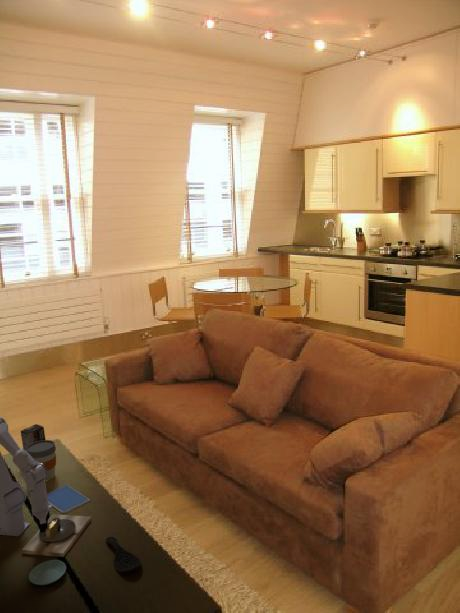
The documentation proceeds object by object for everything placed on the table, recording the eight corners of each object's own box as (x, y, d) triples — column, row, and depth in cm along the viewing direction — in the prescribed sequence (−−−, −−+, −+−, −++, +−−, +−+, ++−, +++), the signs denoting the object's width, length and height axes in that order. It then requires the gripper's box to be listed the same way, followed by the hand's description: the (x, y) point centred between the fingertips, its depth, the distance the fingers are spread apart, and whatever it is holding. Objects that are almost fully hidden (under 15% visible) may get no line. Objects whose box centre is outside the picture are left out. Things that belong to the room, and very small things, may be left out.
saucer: (55, 560, 188) (54, 555, 187) (73, 575, 180) (72, 569, 180) (23, 579, 180) (22, 573, 179) (40, 595, 172) (39, 589, 171)
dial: (50, 520, 209) (49, 508, 208) (81, 522, 206) (80, 510, 205) (32, 541, 196) (30, 529, 195) (65, 544, 194) (63, 531, 193)
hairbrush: (118, 527, 200) (145, 560, 180) (119, 536, 201) (146, 570, 180) (96, 536, 196) (122, 571, 175) (97, 545, 197) (123, 581, 176)
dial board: (22, 553, 193) (21, 549, 192) (53, 517, 214) (53, 513, 213) (63, 557, 190) (62, 552, 189) (91, 520, 211) (90, 516, 210)
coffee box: (40, 453, 270) (36, 423, 266) (48, 456, 266) (44, 426, 263) (24, 461, 262) (19, 430, 259) (32, 464, 259) (28, 433, 255)
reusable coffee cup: (38, 469, 254) (34, 439, 251) (63, 469, 252) (59, 439, 249) (25, 483, 242) (20, 452, 239) (51, 483, 240) (47, 452, 237)
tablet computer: (40, 498, 229) (39, 496, 229) (67, 486, 238) (66, 483, 238) (63, 515, 216) (62, 512, 216) (90, 501, 225) (90, 499, 224)
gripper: (52, 504, 191) (57, 538, 194) (48, 485, 204) (52, 517, 207) (31, 509, 189) (36, 544, 191) (28, 490, 202) (33, 523, 204)
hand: (43, 531), depth 199 cm, fingers closed
